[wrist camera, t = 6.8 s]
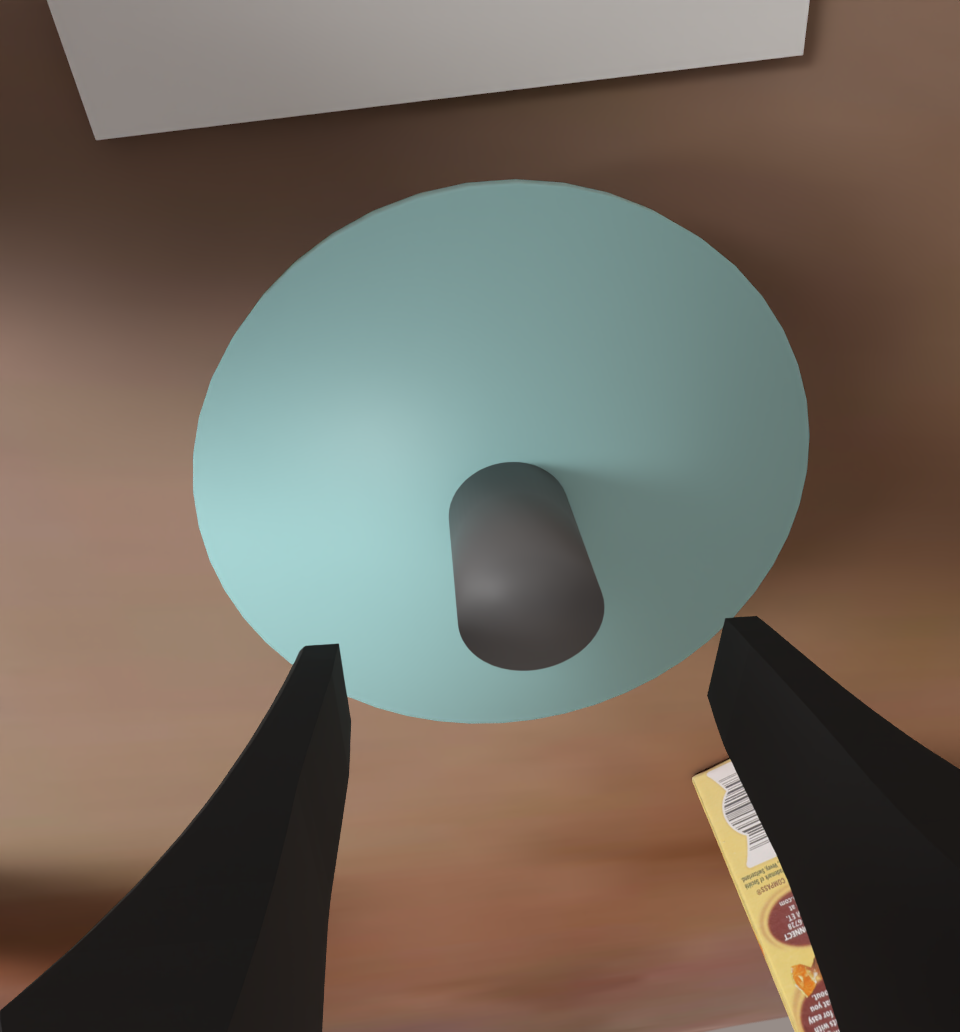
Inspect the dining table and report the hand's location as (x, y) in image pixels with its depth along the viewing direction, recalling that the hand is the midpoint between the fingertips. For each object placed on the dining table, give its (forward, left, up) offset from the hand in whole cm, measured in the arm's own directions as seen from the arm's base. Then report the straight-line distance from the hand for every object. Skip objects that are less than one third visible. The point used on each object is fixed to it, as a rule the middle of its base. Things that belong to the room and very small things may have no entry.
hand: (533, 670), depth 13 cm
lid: (0, +1, -5) cm, 5 cm away
